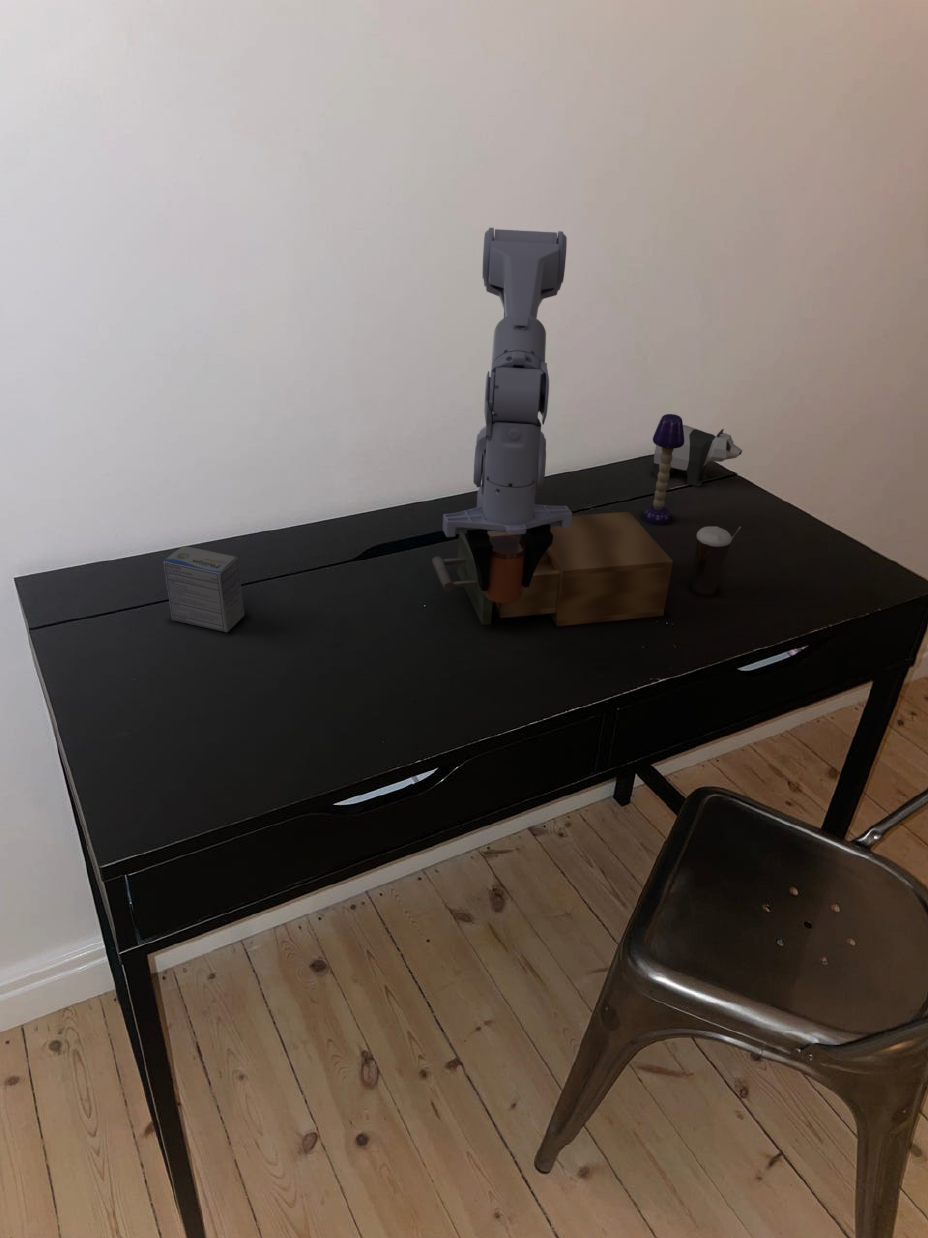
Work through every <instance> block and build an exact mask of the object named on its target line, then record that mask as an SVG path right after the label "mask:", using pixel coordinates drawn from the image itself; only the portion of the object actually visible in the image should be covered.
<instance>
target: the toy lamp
mask: <svg viewBox="0 0 928 1238" xmlns="http://www.w3.org/2000/svg"><path fill="white" fill-rule="evenodd" d="M683 425H684V423H683V419H682V417H681V416H680V415H677V414H675V413H674V414H672V413H666V414H664V415H662V416H661V418H660V420H659V423H658V424H657V426H656V428H655V431H654V434H653V436H652V442H653V444H654V445H655V446H656V445H658V446H659V447H662V454H661V457H660V459H661V462H660V465H659V470H660V471H659V473H658V477H657V481H656V484H655V491H654V500H653V501H652V505H651V506H648V507H647V508H646V509H645V511H644V513H643V519H644V521H646V522H648V523H651V524H654V525H665V524H668V523H670V522H671V521H672V515H671V513H670V510H668V508H667V507H665V503H666V501H665V499H666V497H667V490H668V487H669V482H668V481H669V480H670V476H671V475H670V472H669V471H670V469H671V463H670V462H671V461H672V457H673V456H672V452H673V450H674V448H680V447H681V446H683V444H684V431H683Z"/></svg>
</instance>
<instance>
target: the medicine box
mask: <svg viewBox="0 0 928 1238" xmlns="http://www.w3.org/2000/svg"><path fill="white" fill-rule="evenodd" d="M162 562H163V568H164V570H163V571H164V575H165V582H166V588H167V589H166V590H167V597H168V601H169V608H170V615H171V620H172V621H175V622H179V623H183V624H184V623H185V624H189V625H193V626H197V627H201V628H206V629H210V630H215V631H218V632H224V633H228V632H230V630H231V629H233V628H234V627H235V626H236V625H237V623H239V622H240V621H241V619H243V618H244V617H245V608H244V600H243V590H242V582H241V574H240V566H239V564H240V563H239V558H238V557H237V556H235V555H229V554H225V553H220V552H216V551H209V550H206V549H200V548H195V547H191V546H186V545H183V546H181V547H179V549H177V550H175V551H174V552H173V553H171V554H170V555H169V556H167V557H166V558H165V559H164V560H163V561H162Z"/></svg>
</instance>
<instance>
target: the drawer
mask: <svg viewBox="0 0 928 1238" xmlns="http://www.w3.org/2000/svg"><path fill="white" fill-rule="evenodd" d="M488 535H489V536H490V537H489V539H490V538H492V537H496V536H513V537H517V538H519V539H521V534H518V535H510V534H508V533H507V532H504V533H490V534H488ZM457 548H458V551H457V557H455V558H442V557H441V556H438V555H437V556H434V557H432V559H431V563H432V566H433V569H434V571H435V573H436V575H437V577H438V579H439V583H440V584H441V586H442V589H443V591H444V592H446V593H451V592H453V591H454V590H455V589H457V588H464V590H465V592H466V594H467V596H468V599H469V600H470V603H471V605H472V607H473V609H474V611H475V613H476V615H477V617H478V620H479V621H480V624H481V625H482V626H487V625H491V624H492V617H493V608H494V609H495V611H496V613H497V615H498V617H499V619H507V618H516V617H527V616H538V615H539V616H540V615H547V614H549V613H556V611H557V602H558V592H559V583H560V574H561V573H560V572H559V570H558V568H557V567H556V565H555V564H554V562H553V561H552V559H551V558H550V556H549V555H548V553H547V552H545V553H544V555H543V556H542V558H541V559H540V561H539V563H538V565H537V567H536V569H535V571H534V574H533V576H532V579H531V582H530V585H529V587H523V585H522V595H521V598H520V599H519V600H517V601H515V602H512V603H498V602H494V601H491V600H489V599H488V598H487V597H486V596H485V594H484V591H482V590H481V588H480V586H479V584H478V578H477V571H476V566H475V562H474V558H473V555H472V552H471V549H470V547H469V544H468V542H467V539H466V537H465V535H464V533H460V534H458V547H457ZM450 565H457V575H458V577H459V579H460V581H453V579H452V577H451V575H450V573H449V571H448V568H447V566H450ZM549 615H550V614H549Z"/></svg>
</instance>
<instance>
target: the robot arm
mask: <svg viewBox="0 0 928 1238" xmlns="http://www.w3.org/2000/svg"><path fill="white" fill-rule="evenodd" d="M567 238H568V237H567V235H566V234H564V231H562V230H558V231H557V232H555V231H537V230H536V231H535V230H518V229H515V230H514V229H497V228H496V229H495V228H494V227H489V228H488V230H486V231H485V232H484V238H483V251H482V252H483V253H482V280H483V286H484V287H485V290H486V293H489V294H492V295H494V296H497V297H498V298H499V300H500V303H501V305H502V309H503V318H502V319H500V321H499V322H498V323H497V324H496V325H495V328H494V330H493V339H492V340H493V342H492V343H493V344H492V352H491V353H492V355H491V364H490V365H491V368H490V371H487V373H486V377H485V389H484V391H485V392H484V406H483V407H484V409H483V413H484V419H485V420H484V421H485V426H484V427H482V428H481V429H480V430H479V432H478V433H477V435H476V441H475V448H474V461H473V484H474V485H475V486H476V488H478V489H477V493H476V494H477V495H476V507H474V508H470V509H466V510H461V511H458V512H457V511H456V512H451V513H443V515H442V531H443V533H444V536H445V537H446V538H454V537H457V536H456V535H459V534H460V533H464V535H465V537H466V539H467V542H468V544H469V547H470V549H471V552H472V555H473V558H474V562H475V566H476V571H477V578H478V584H479V586H480V588H481V590H482V591H488V587H489V565H490V558H491V553H492V549H493V546H492V544H491V542H490V540H489V537H490V536H489V535H488V534H490V533H504V532H507V533H508V534H510V535H518V534H521V540H523V541H524V542H525V543H526V553H525V560H524V572H523V583H522V585H523V587H529V585H530V582H531V579H532V576H533V574H534V571H535V569H536V567H537V565H538V563H539V561H540V559H541V558H542V556H543V555H544V553H545V552H546V550H547V549H548V548H549V547H550V546H551V545H552V541H553V534H552V533H551V531H550V528H551V527H554V526H560V527H561V528H571V520H572V516H573V511H572V510H570V508H569V507H568V506H567V505H547V504H546V505H545V504H536V494H537V493H536V492H540V491H541V490H542V489H543V488H544V486H545V479H546V466H547V465H546V464H547V438H546V437H545V433H543V431H542V426H544V425H545V422H546V418H547V415H548V408H549V407H548V406H549V397H550V378H549V377H550V376H549V371H548V363H547V362H546V350H547V349H546V348H547V347H546V346H547V331H546V327H545V326H544V324H543V323H542V322H541V321H540V320H539V319H538V312H539V308H540V305H541V304H542V302H543V300H544V299H547V298H552V297H555V296H557V295H558V292H559V291H560V290H561V287H562V284H563V283H564V280H565V279H564V278H565V270H566V261H567V245H568V243H567V242H568V239H567ZM539 413H540V415H541V420H540V419H539Z"/></svg>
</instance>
